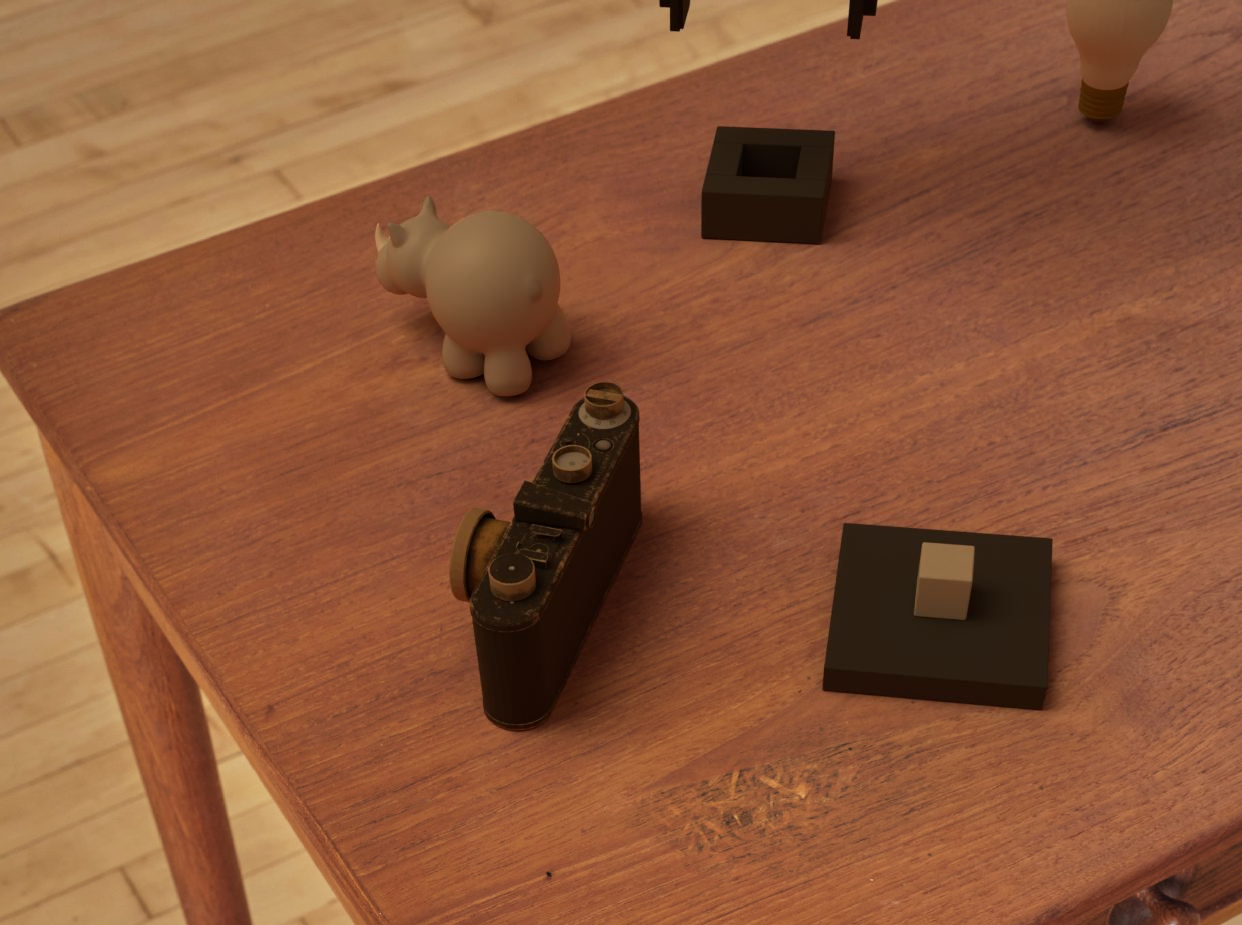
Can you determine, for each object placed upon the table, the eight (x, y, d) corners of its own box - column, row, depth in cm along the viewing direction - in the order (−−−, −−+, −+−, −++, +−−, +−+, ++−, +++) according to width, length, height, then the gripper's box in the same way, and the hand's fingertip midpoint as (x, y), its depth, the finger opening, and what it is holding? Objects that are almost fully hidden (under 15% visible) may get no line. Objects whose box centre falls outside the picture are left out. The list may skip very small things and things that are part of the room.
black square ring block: (832, 177, 109) (835, 130, 107) (820, 244, 105) (823, 197, 103) (716, 172, 110) (717, 125, 108) (700, 238, 106) (701, 191, 104)
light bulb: (1049, 146, 110) (1078, -22, 101) (1047, 94, 113) (1074, -72, 105) (1150, 147, 109) (1186, -21, 101) (1144, 95, 112) (1179, -72, 104)
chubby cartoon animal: (432, 279, 105) (414, 142, 99) (592, 351, 100) (585, 211, 94) (348, 342, 102) (323, 204, 96) (509, 419, 97) (495, 279, 90)
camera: (536, 486, 94) (525, 356, 87) (659, 509, 92) (656, 378, 86) (416, 710, 85) (394, 583, 79) (549, 740, 83) (537, 612, 77)
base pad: (1047, 561, 88) (1061, 497, 85) (1042, 710, 82) (1056, 647, 79) (841, 545, 90) (847, 481, 87) (822, 690, 84) (827, 628, 81)
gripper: (973, -367, 86) (931, -5, 100) (615, -370, 89) (622, -18, 103) (965, -301, 82) (922, 66, 96) (589, -307, 84) (600, 52, 98)
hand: (767, 23), depth 99 cm, fingers open, 9 cm apart
